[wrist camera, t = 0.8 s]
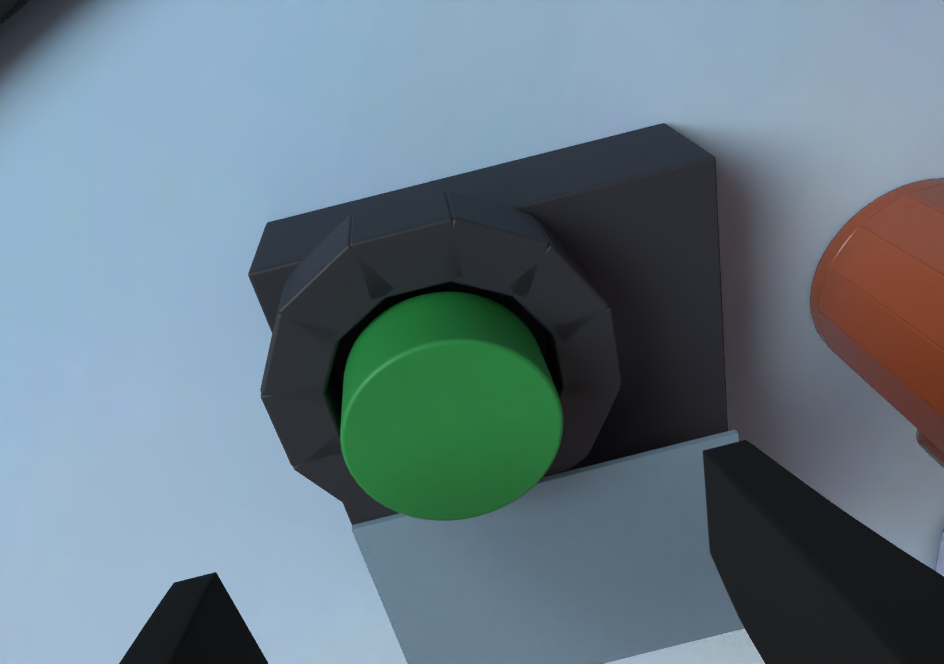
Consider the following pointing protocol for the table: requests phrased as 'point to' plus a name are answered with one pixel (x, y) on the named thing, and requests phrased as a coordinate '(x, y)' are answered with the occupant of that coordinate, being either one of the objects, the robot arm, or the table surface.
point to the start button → (448, 408)
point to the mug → (891, 303)
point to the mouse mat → (10, 8)
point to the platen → (560, 568)
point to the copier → (516, 294)
